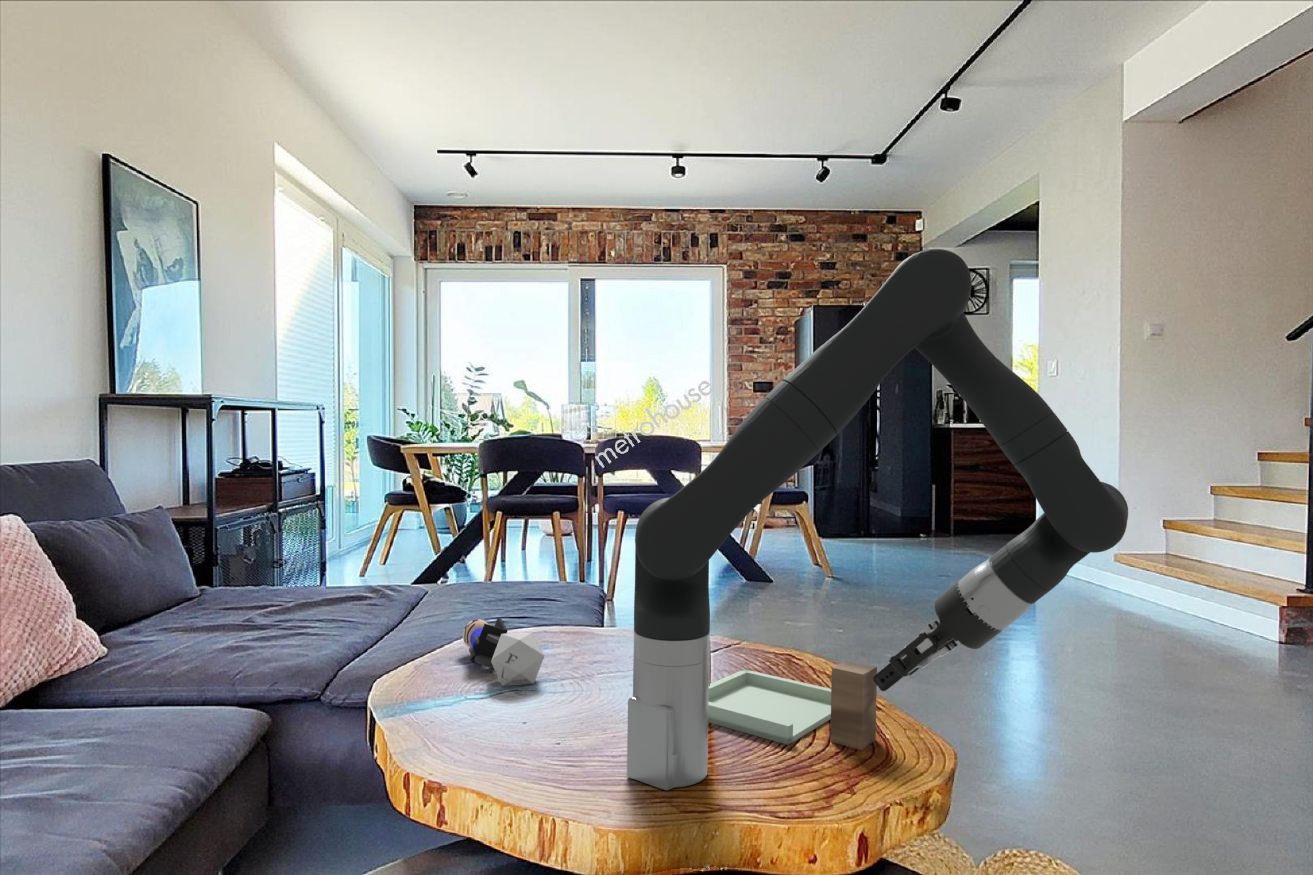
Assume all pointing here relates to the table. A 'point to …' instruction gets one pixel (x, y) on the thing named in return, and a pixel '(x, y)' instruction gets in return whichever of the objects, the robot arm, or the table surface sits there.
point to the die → (517, 659)
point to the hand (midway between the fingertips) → (891, 676)
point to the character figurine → (483, 640)
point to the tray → (768, 705)
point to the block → (853, 704)
